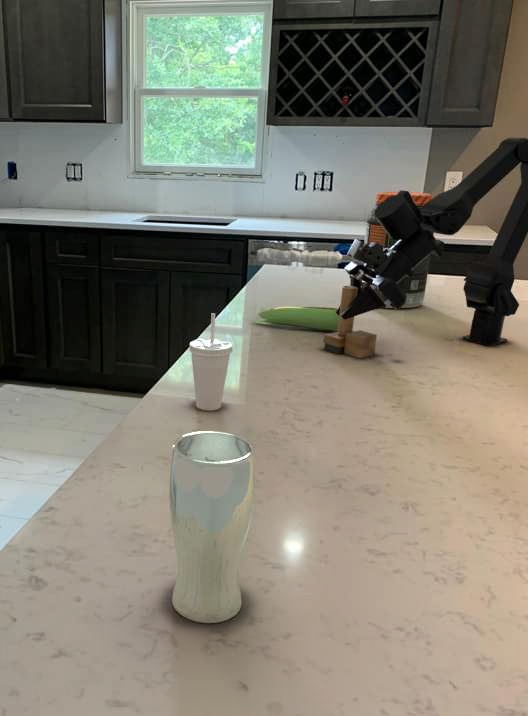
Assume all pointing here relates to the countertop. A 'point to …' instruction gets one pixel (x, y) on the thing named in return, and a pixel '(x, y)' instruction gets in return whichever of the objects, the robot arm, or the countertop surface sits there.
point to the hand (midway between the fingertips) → (339, 315)
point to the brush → (341, 323)
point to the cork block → (360, 344)
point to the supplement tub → (376, 233)
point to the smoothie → (210, 369)
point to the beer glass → (210, 521)
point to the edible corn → (302, 317)
